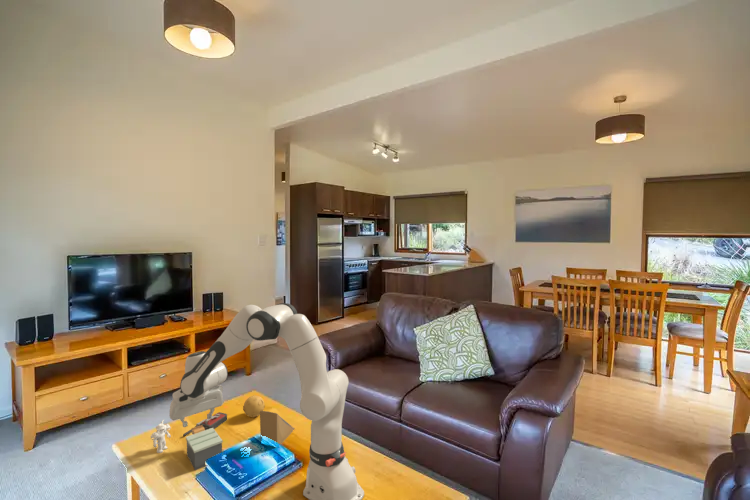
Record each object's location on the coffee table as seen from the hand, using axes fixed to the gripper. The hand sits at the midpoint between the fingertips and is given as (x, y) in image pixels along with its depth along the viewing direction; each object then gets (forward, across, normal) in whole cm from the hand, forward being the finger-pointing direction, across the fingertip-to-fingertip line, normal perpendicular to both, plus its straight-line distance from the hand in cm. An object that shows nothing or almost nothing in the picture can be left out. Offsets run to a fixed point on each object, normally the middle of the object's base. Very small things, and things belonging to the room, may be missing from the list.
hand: (197, 422), depth 147 cm
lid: (+5, 0, +7) cm, 8 cm away
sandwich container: (+11, -30, +15) cm, 35 cm away
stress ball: (+11, -28, -9) cm, 32 cm away
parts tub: (+11, 0, +9) cm, 14 cm away
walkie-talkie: (+12, -8, -14) cm, 20 cm away
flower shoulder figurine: (+12, +12, -8) cm, 18 cm away
